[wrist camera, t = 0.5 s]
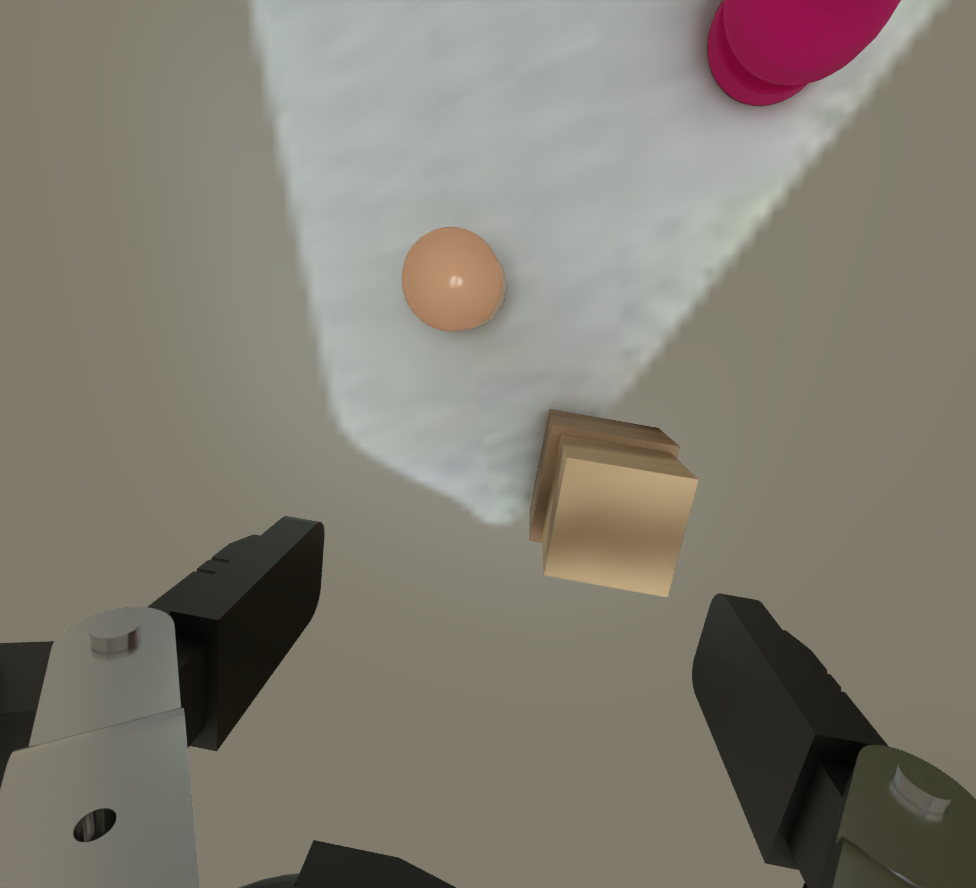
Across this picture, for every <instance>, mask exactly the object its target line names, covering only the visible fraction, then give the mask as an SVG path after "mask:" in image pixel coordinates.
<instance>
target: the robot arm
mask: <svg viewBox="0 0 976 888" xmlns="http://www.w3.org/2000/svg"><path fill="white" fill-rule="evenodd" d="M323 547H324V526H323V524H322V523H321V522H317V521H312V520H306V519H300V518H295V517H289V516H284V517H283V518H281V519H280V520H279V521H278V522H276V523H275V524H274V525H273V526H272V527H270V528H269V529H268V530H267V531H266V532H264V533H263V534H262V535H261V536H259V535H251V536H248V537H246V538H243V539H241V540H238V541H236V542H233V543H230V544H229V545H227V546H226V547H225V548H223V549H222V550H221V551H219V552H218V553H217V554H216V555H214V556H213V557H212V559H211V560H208V561H206V562H205V563H204V564H202V565H201V566H200V567H199V568H198V569H197V571H196V572H192V573H191V574H190V575H188V576H187V577H186V578H184V579H183V580H182V581H180V582H179V583H178V584H177V585H175V586H174V587H173V588H171V589H170V590H169V591H168V592H166V593H165V594H164V595H162V596H161V597H160V598H158V599H157V600H156V601H155V602H153V603H152V604H151V605H149V606H148V607H125V608H118V609H113V610H108V611H104V612H100V613H97V614H94V615H92V616H89V617H87V618H84V619H82V620H80V621H78V622H76V623H75V624H73V625H71V626H70V627H68V628H67V629H66V630H65V631H63V632H62V633H61V634H60V635H59V636H58V637H57V639H56V640H55V641H51V642H22V643H0V888H199V876H198V865H197V853H196V841H195V830H194V818H193V806H192V795H191V783H190V771H189V760H188V747H189V746H193V747H198V748H203V749H208V750H213V751H217V750H218V749H219V748H220V746H221V745H222V743H223V742H224V741H225V739H226V738H227V736H228V735H229V734H230V732H231V731H232V729H233V728H234V727H235V725H236V724H237V722H238V721H239V720H240V718H241V717H242V715H243V714H244V713H245V711H246V710H247V709H248V707H249V706H250V704H251V703H252V701H253V700H254V699H255V697H256V696H257V695H258V693H259V692H260V690H261V689H262V688H263V686H264V685H265V684H266V682H267V681H268V679H269V678H270V676H271V675H272V674H273V672H274V671H275V669H276V668H277V667H278V665H279V664H280V663H281V661H282V660H283V658H284V657H285V656H286V654H287V653H288V651H289V650H290V649H291V647H292V646H293V645H294V643H295V642H296V640H297V639H298V638H299V636H300V635H301V633H302V632H303V631H304V629H305V628H306V626H307V625H308V624H309V622H310V621H311V619H312V617H313V615H314V613H315V610H316V608H317V604H318V601H319V596H320V590H321V577H322V562H323ZM692 681H693V688H694V692H695V695H696V698H697V700H698V702H699V705H700V707H701V710H702V712H703V715H704V717H705V719H706V722H707V724H708V727H709V729H710V731H711V733H712V736H713V739H714V741H715V743H716V746H717V748H718V751H719V753H720V756H721V758H722V760H723V763H724V765H725V768H726V770H727V772H728V775H729V777H730V779H731V782H732V785H733V787H734V789H735V792H736V794H737V797H738V799H739V801H740V803H741V806H742V809H743V811H744V813H745V816H746V818H747V821H748V823H749V825H750V828H751V830H752V833H753V835H754V838H755V840H756V843H757V845H758V847H759V850H760V852H761V855H762V857H763V859H764V862H765V863H767V864H772V865H777V866H782V867H787V868H792V869H797V870H800V873H801V875H802V877H803V879H804V881H805V883H804V885H803V887H802V888H976V799H975V798H974V797H973V796H972V795H971V794H970V793H969V792H968V791H967V790H966V789H965V788H964V787H962V786H961V785H960V784H959V783H958V782H957V781H955V780H954V779H953V778H951V777H950V776H949V775H947V774H946V773H944V772H943V771H941V770H940V769H938V768H937V767H935V766H934V765H932V764H930V763H928V762H926V761H925V760H923V759H921V758H919V757H917V756H915V755H913V754H910V753H908V752H905V751H903V750H899V749H897V748H893V747H889V746H888V745H887V744H886V743H885V741H884V740H883V739H882V738H881V736H880V735H879V734H878V733H877V731H876V730H875V729H874V728H873V726H872V725H871V724H870V723H869V722H868V720H867V719H866V718H865V716H864V715H863V714H862V713H861V712H860V710H859V709H858V708H857V707H856V705H855V704H854V703H853V702H852V700H851V699H850V698H849V697H848V695H847V694H846V693H845V692H841V687H840V686H839V684H838V683H837V682H836V680H835V679H834V678H833V677H832V676H831V675H830V674H827V669H826V668H825V667H824V666H823V664H822V663H821V662H820V661H819V659H818V658H817V657H816V656H815V655H814V653H813V652H812V651H811V650H810V649H809V648H808V647H806V646H805V645H804V644H803V643H801V642H800V641H799V640H797V639H796V638H795V637H793V636H792V635H791V634H790V633H788V632H787V631H785V630H782V629H781V627H780V626H779V625H778V624H777V622H776V621H775V620H774V618H773V617H772V616H771V614H770V613H769V612H768V610H767V609H766V608H765V607H764V605H763V604H762V603H761V602H760V601H758V600H754V599H748V598H743V597H737V596H732V595H725V594H717V595H716V596H714V598H713V599H712V601H711V604H710V607H709V611H708V614H707V617H706V620H705V624H704V627H703V631H702V634H701V637H700V640H699V644H698V647H697V651H696V654H695V657H694V661H693V669H692ZM239 888H456V887H454V886H452V885H450V884H448V883H446V882H444V881H443V880H441V879H439V878H437V877H435V876H433V875H431V874H429V873H427V872H425V871H423V870H421V869H420V868H418V867H416V866H414V865H412V864H410V863H408V862H406V861H404V860H402V859H400V858H397V857H393V856H388V855H383V854H378V853H373V852H368V851H364V850H358V849H354V848H349V847H344V846H340V845H334V844H330V843H325V842H320V841H315V840H314V841H313V843H312V845H311V848H310V850H309V853H308V855H307V857H306V860H305V862H304V864H303V867H302V869H301V872H300V873H299V874H288V875H282V876H278V877H273V878H268V879H263V880H260V881H257V882H254V883H252V884H248V885H246V886H242V887H239Z"/></svg>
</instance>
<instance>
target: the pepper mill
mask: <svg viewBox="0 0 976 888" xmlns="http://www.w3.org/2000/svg"><path fill="white" fill-rule="evenodd" d="M900 1H901V0H723V1H722V3H721V5H720V6H719V8H718V10H717V12H716V14H715V16H714V19H713V21H712V24H711V27H710V31H709V37H708V58H709V64H710V67H711V70H712V73H713V75H714V77H715V79H716V81H717V83H718V84H719V85H720V87H721V88H722V89H723V90H724V91H725V92H726V93H727V94H728V95H730V96H731V97H732V98H734V99H736V100H737V101H740V102H742V103H745V104H750V105H770V104H775V103H778V102H781V101H783V100H786V99H788V98H790V97H792V96H793V95H795V94H796V93H797V92H799V91H800V90H801V89H803V88H804V87H805V86H806V85H807V84H808V83H811V82H814V81H817V80H821V79H823V78H825V77H827V76H829V75H831V74H833V73H834V72H836V71H838V70H839V69H841V68H843V67H844V66H845V65H847V64H848V63H849V62H850V61H852V60H853V59H854V58H855V57H856V56H857V55H858V54H859V53H860V52H861V51H862V50H863V49H864V48H865V47H866V46H867V45H868V44H870V43H871V42H872V41H873V40H874V39H875V38H876V36H877V35H878V34H879V32H880V31H881V30H882V28H883V27H884V26H885V24H886V23H887V22H888V20H889V19H890V17H891V15H892V14H893V12H894V10H895V9H896V7H897V6H898V4H899V2H900Z"/></svg>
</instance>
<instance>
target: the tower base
mask: <svg viewBox="0 0 976 888" xmlns="http://www.w3.org/2000/svg"><path fill="white" fill-rule="evenodd" d="M561 434H563V435H569V436H575V437H581V438H587V439H593V440H599V441H605V442H611V443H617V444H623V445H629V446H635V447H641V448H647V449H653V450H659V451H665V452H670V453H671V454H673V455H674V456H675V457H676V458H677V456H678V452H679V448H680V446H679V445H677V444H676V443H675V442H674V441H673V440H672V439H670V438H669V437H668V436H667V435H666V434H665V433H663V432H662V431H661V430H660V429H659V428H656V427H650V426H644V425H638V424H633V423H627V422H621V421H615V420H610V419H602V418H596V417H591V416H585V415H579V414H574V413H568V412H562V411H557V410H551V409H550V410H549V415H548V420H547V426H546V431H545V436H544V441H543V446H542V451H541V456H540V461H539V466H538V472H537V477H536V482H535V487H534V492H533V497H532V502H531V507H530V537H529V540H531V541H536V542H542V531H543V526H544V521H545V516H546V511H547V505H548V500H549V495H550V490H551V485H552V479H553V474H554V469H555V464H556V459H557V453H558V448H559V443H560V438H561Z"/></svg>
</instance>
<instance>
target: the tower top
mask: <svg viewBox="0 0 976 888" xmlns="http://www.w3.org/2000/svg"><path fill="white" fill-rule="evenodd" d="M697 484H698V479H697V478H696V477H695V476H694V475H693V474H692V473H691V472H690V471H689V470H688V469H687V468H686V467H685V466H684V465H683V464H682V463H681V462H680V461H679V460H678V459H677V458H676V457H675V456H674V455H673V454H671V453H670V452H665V451H659V450H653V449H647V448H641V447H635V446H629V445H623V444H617V443H611V442H605V441H599V440H593V439H587V438H581V437H575V436H569V435H563V434H561V438H560V443H559V448H558V453H557V459H556V464H555V469H554V474H553V479H552V485H551V490H550V495H549V500H548V505H547V511H546V516H545V521H544V526H543V531H542V545H543V565H544V566H543V567H544V575H545V576H551V577H557V578H562V579H568V580H573V581H579V582H584V583H590V584H596V585H601V586H607V587H612V588H618V589H623V590H629V591H635V592H640V593H646V594H652V595H657V596H663V597H668V594H669V590H670V586H671V582H672V579H673V575H674V571H675V567H676V563H677V560H678V556H679V552H680V548H681V545H682V541H683V537H684V533H685V530H686V526H687V522H688V518H689V514H690V511H691V506H692V503H693V499H694V495H695V492H696V488H697Z"/></svg>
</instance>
